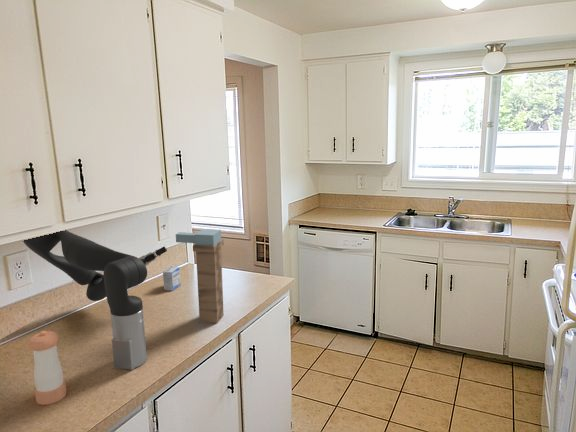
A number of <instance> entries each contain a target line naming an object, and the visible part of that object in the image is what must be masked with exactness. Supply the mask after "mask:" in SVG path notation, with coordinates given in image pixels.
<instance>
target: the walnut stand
mask: <svg viewBox="0 0 576 432" xmlns="http://www.w3.org/2000/svg"><path fill="white" fill-rule="evenodd" d="M224 243H225V242H224V239H221V241H220V242H218V243H217V244H216V245H215V246H201V245H195V244H193V245H192V251H193V252H195V255H196V256H195V257H196V259H195V260H196V278H197V279H196V280H197V294H198V295H197V299H198V314H199V315H198V316H199V323H207V324H208V323H209V324H218V323H219V322H220V320H221V319H222V318H223V317H224V295H223V294H224V291H223V268H222V267H223V263H222V262H223V261H222V247H223V246H224Z"/></svg>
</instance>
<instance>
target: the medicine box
mask: <svg viewBox="0 0 576 432" xmlns="http://www.w3.org/2000/svg"><path fill="white" fill-rule="evenodd" d="M180 269H181V267H179V266H170V267H168V269H165V271H163V272H162V278H163V287H164V288H163V289H164V291H171V292H173V291H174V290H176V289H177V288H178V287H180V286H181V284H182V283H181V270H180Z"/></svg>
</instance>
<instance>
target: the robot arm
mask: <svg viewBox="0 0 576 432" xmlns="http://www.w3.org/2000/svg"><path fill="white" fill-rule="evenodd" d="M22 242H23V243H24V245H25V246H26V247H27V248H29V249H30V251H32V252H34V253H35V254H36V255H37V256H40V258H42V259H44V260H45V261H46V262H48V263H49V264H51V265H53V266H54V267H56V268H57V269H59V270H60V271H62V272H64V273H65V274H66V275H67V276H69V277H70V279H72V280H73V281H74V282H75V283H76V284H78V285H80V286H86V285H87V288H86V293H85V294H86V298H87V299H88V300H90V301H93V302H98V301H102V300H104V299H105V298H106V301H107V304H108V307H109V310H110V311H109V312H110V321H111V331H112V339H111V347H112V348H111V349H112V357H113V358H112V359H113V368H115V369H123V370H131V371H132V370H134V369H135V368H138V367H141V366H142V365H144V364H145V363H146V361H147V360H148V356H147V355H148V354H147V345H146V343H147V341H146V331H145V320H144V317H145V316H144V306H143V300H142V298H141V297H139V296H136V295H128V293H129V292H128V290H129V289H132V288H134V287H137V286H139V285H140V284H142V283H144V282H145V280H146V279H147V277H148V268H147V266H148V265H150V264H151V263H152V262H154V261H155V260H156V259H157V258H158V257H160V256H161V255H163V254H165V253H166V252H168V249H167V247H166V245H165V246H162V247H161V248H158V249H156V250H154V251H153V252H150V251H149V253H147V254H144V255H142V256H140V257H138V256H135V255H131V254H128V253H125V252H124V253H123V252H120V251H117V250H114V249H111V248H109V247H106V246H104V245H102V244H99V243H97V242H95V241H93V240H90V239H88V238H86V237H83V236H80V235H78V234H76V233H73V232H71V231H69V230H67V229H65V231H60V232H56V233H53V234H49V235H44V236H40V237H36V238H32V239H28V240H24V241H23V240H22ZM59 242H60V243H59ZM58 244H61V250H62V251H61V252H62V255H58V254H54V253H53V252H51V251H52V250H53V248H55V247H56V246H57V245H58ZM100 272H103V273H100Z"/></svg>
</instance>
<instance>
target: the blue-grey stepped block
mask: <svg viewBox="0 0 576 432" xmlns="http://www.w3.org/2000/svg"><path fill="white" fill-rule="evenodd" d="M221 240H222V231H221V229H213V228H212V229H210V228H209V229H208V228H207V229H205V228H202V229H200V230H199V231H198V232H177V233H175V242H176V243H186V244H194V245H201V246H215V245H216V244H217V243H218V242H220V241H221Z"/></svg>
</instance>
